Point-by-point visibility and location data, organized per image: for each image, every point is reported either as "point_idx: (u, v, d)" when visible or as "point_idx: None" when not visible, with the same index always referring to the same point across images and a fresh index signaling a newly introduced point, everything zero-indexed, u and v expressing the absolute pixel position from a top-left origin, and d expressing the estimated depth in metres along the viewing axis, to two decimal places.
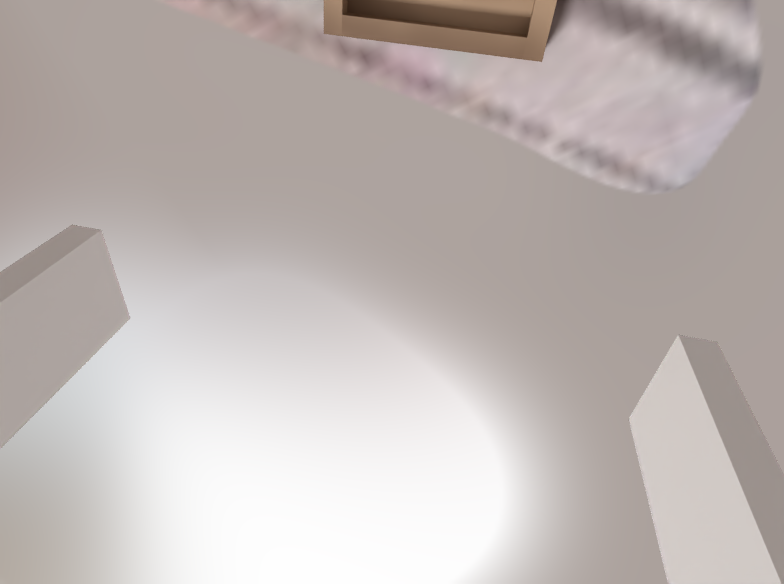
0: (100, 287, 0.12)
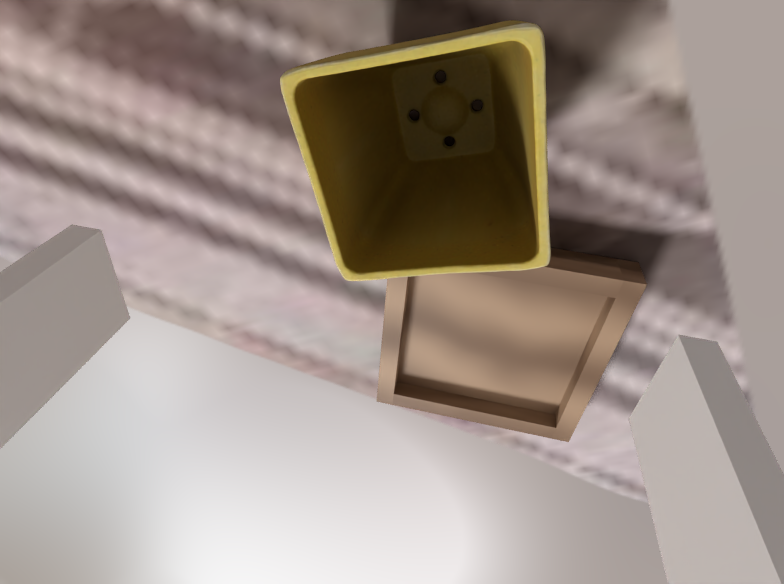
0: (100, 287, 0.12)
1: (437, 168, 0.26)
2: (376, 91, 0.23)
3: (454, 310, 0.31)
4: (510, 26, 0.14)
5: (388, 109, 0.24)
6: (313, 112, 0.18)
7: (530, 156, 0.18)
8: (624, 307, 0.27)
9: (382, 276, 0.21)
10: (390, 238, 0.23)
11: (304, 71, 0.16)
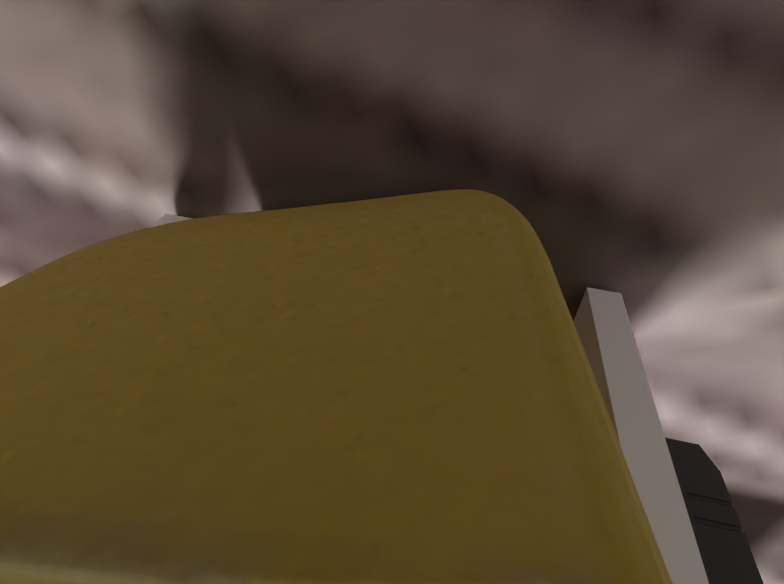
0: None
1: None
2: None
3: None
4: None
5: None
6: None
7: None
8: None
9: None
10: None
11: None
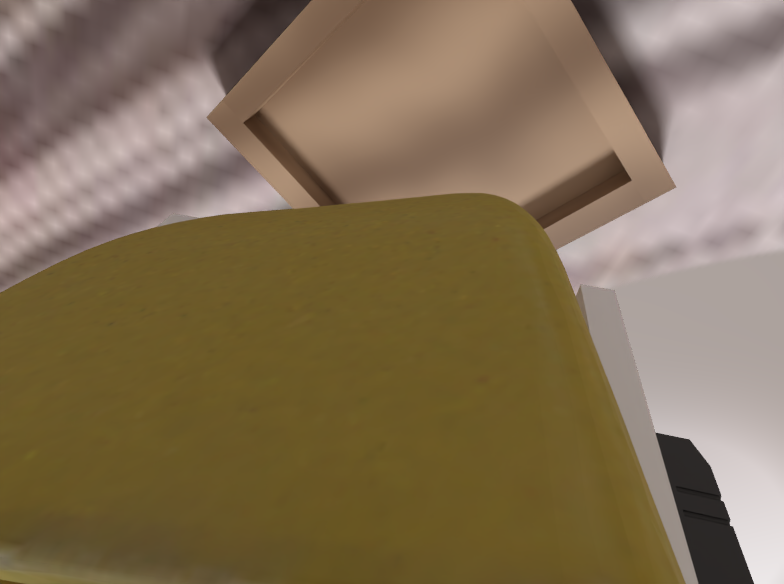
0: None
1: None
2: None
3: (360, 142, 0.22)
4: None
5: None
6: None
7: None
8: None
9: None
10: None
11: None
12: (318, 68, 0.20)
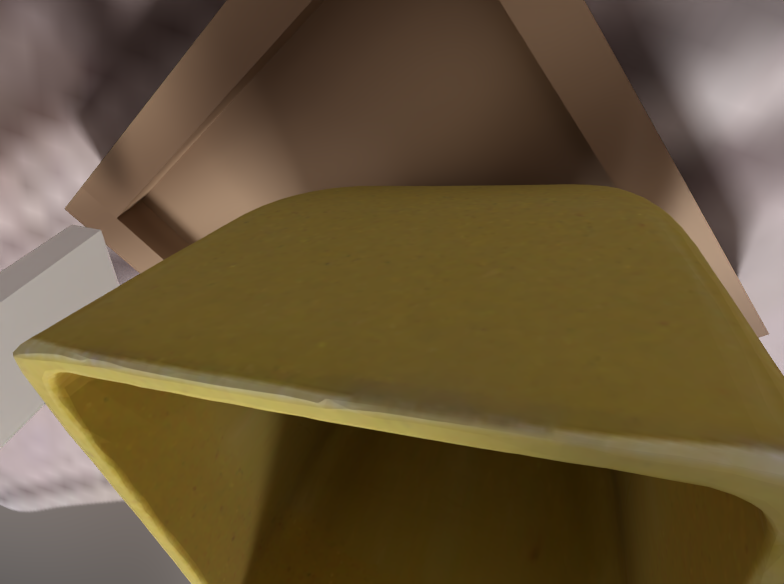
0: (100, 287, 0.12)
1: None
2: None
3: None
4: (718, 452, 0.03)
5: None
6: None
7: (657, 557, 0.07)
8: None
9: None
10: (342, 527, 0.12)
11: (57, 362, 0.06)
12: (222, 142, 0.13)
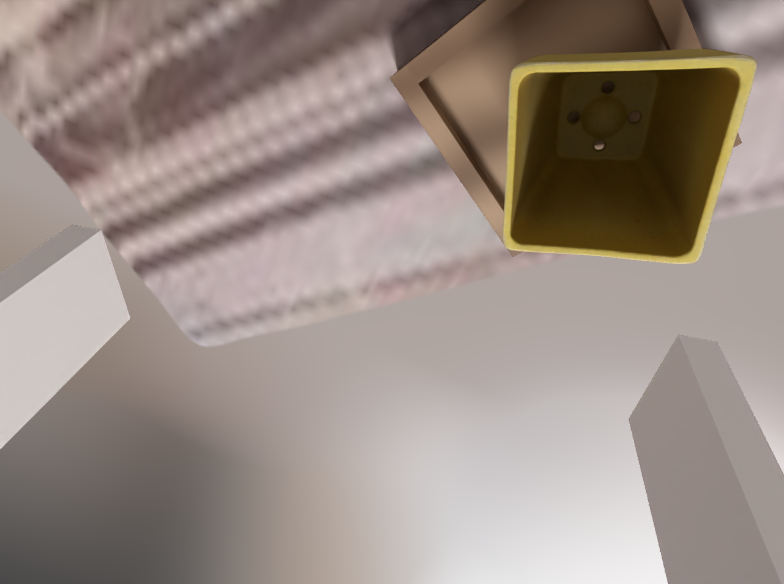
0: (100, 287, 0.12)
1: (583, 167, 0.29)
2: (550, 91, 0.27)
3: (501, 103, 0.29)
4: (730, 55, 0.17)
5: (554, 108, 0.28)
6: (522, 101, 0.22)
7: (700, 166, 0.21)
8: None
9: (541, 249, 0.24)
10: (544, 220, 0.26)
11: (536, 66, 0.20)
12: (480, 45, 0.27)
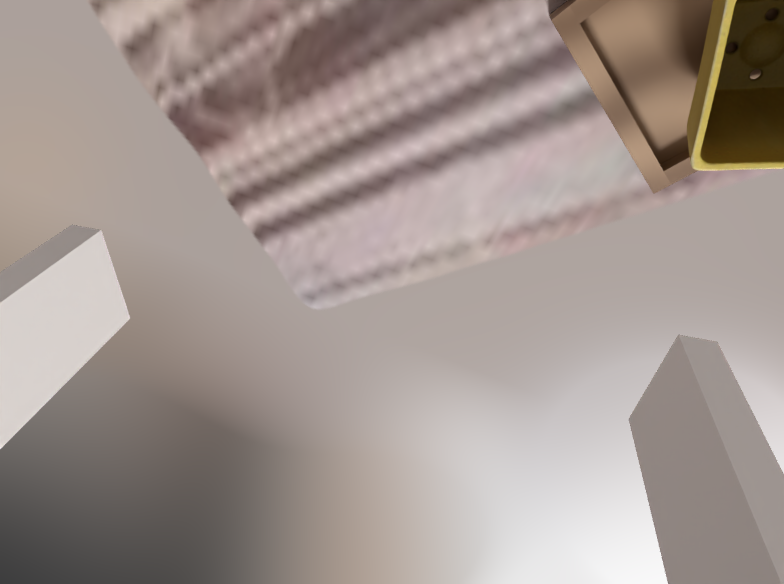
0: (100, 287, 0.12)
1: (739, 96, 0.30)
2: None
3: (656, 40, 0.30)
4: None
5: None
6: None
7: None
8: None
9: (730, 167, 0.25)
10: (720, 143, 0.27)
11: None
12: None
